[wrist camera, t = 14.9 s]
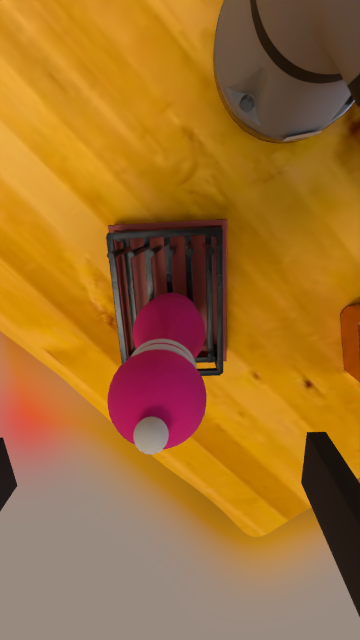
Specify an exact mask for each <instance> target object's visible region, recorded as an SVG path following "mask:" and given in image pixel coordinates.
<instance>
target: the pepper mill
mask: <svg viewBox="0 0 360 640" xmlns="http://www.w3.org/2000/svg"><path fill="white" fill-rule="evenodd" d="M204 340H205V325H204V321H203V318H202V316H201V314H200V313H199V311H198V310H197V309H196V307H195V305H194V304H193V302H192V301H191V300H189V299H188V298H187V297H185V296H184V295H181V294H178V293H164V294H161V295H159V296H157V297H155V298H154V299H153V300H152V301H150V302H149V303H147V304H146V305H145V306H144V307H143V308H142V309H141V310H140V311H139V313H138V315H137V317H136V319H135V322H134V326H133V341H134V345H135V348H136V350H135V351H134V353H133V354H132V356H131V357H130V358H129V359H128V360H127V361H126V362H125V363H123V364H122V365H121V366H120V367H119V369H118V370H117V372H116V373H115V375H114V377H113V379H112V382H111V384H110V388H109V392H108V410H109V415H110V418H111V420H112V423H113V424H114V426H115V427H116V429H117V430H118V432H119V433H120V434H121V435H122V436H123V437H124V438H125V439H127V440H128V441H129V442H131V443H133V444H135V445H136V447H137V448H138V449H139V450H140V451H141V452H143V453H145V454H155V453H158V452H160V451H161V450H162V449H167V448H171V447H174V446H177V445H179V444H181V443H182V442H184V441H185V440H186V439H188V438H189V437H190V436H191V435H192V434H193V433H194V432H195V431H196V430H197V428H198V427H199V425H200V423H201V421H202V418H203V416H204V414H205V407H206V389H205V385H204V381H203V379H202V377H201V374H200V373H199V372H198V370H197V368H196V363H195V360H194V359H195V358H196V357H197V356H198V354H199V353H200V351H201V349H202V347H203V344H204Z"/></svg>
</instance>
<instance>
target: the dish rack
mask: <svg viewBox="0 0 360 640" xmlns="http://www.w3.org/2000/svg"><path fill="white" fill-rule="evenodd" d="M108 228H109V233H108V234H107V237H106V239H107V247H108V254H107V257H108V258H109V263H110V271H111V279H112V287H113V295H114V304H115V312H116V320H117V328H118V336H119V344H120V352H121V360H122V364H123V363H125V362H126V361H127V360H128V359H129V358H130V357H131V356H132V354H133V353H134V351H135V350H136V348H135V345H134V341H133V326H134V322H135V319H136V317H137V315H138V313H139V311H140V310H141V309H142V308H143V307H144V306H145V305H146V304H147V303H149V302H150V301H152V300H153V299H154V298H155V297H157V296H159V295H161V294H164V293H178V294H181V295H184V296H185V297H187V298H188V299H189V300H191V301H192V302H193V304H194V305H195V307H196V309H197V310H198V311H199V313H200V314H201V316H202V318H203V321H204V325H205V340H204V344H203V347H202V349H201V351H200V353H199V354H198V356H197V357H196V358H195V359H194V360H195V363H200V362H208V363H211V362H215V365H216V368H207V369H197V370H198V372H199V373H200V374H201V376H211V375H220V374H222V373H223V361H226V333H227V219H222V220H202V221H183V222H163V223H144V224H124V225H108Z"/></svg>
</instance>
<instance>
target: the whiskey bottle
mask: <svg viewBox="0 0 360 640" xmlns="http://www.w3.org/2000/svg"><path fill="white" fill-rule="evenodd" d="M340 317H341V330H342V344H343V357H344V370H345V371H346V372H347V373H349V374H350V375H351V376H353V377H354V378H355V379H356V380H358V381H359V382H360V303H359V304H355V305H350V306H347V307H346V308H345V309H344V310H343V312H342V313H341V314H340Z"/></svg>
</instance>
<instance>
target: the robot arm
mask: <svg viewBox="0 0 360 640" xmlns="http://www.w3.org/2000/svg"><path fill="white" fill-rule="evenodd" d="M213 64H214V75H215V81H216V85H217V89H218V92H219V95H220V98H221V100H222V102H223V104H224V106H225V108H226V110H227V111H228V113H229V114H230V116H231V117H232V118H233V120H234V121H235V122H236V123H237V124H238V125H239V126H240V127H241V128H242V129H244V130H245V131H246V132H248V133H249V134H251V135H252V136H254V137H257V138H259V139H262V140H264V141H268V142H274V143H290V142H296V141H300V140H303V139H306V138H309V137H311V136H314V135H318V134H319V133H321V132H322V130H323V131H324V129H325V128H326V127H328V126H329V125H331V124H332V123H333V122H335V121H336V120H337V119H338V118H340V117H341V116H342V115H343V114H344V113H345V112H346V111H347V110H348V109H349V108H350V107H351V105H352V104H353V103H354V102H355V103H356V105H357V106H358V107H357V108H358V110H359V112H360V0H224V2H223V5H222V8H221V11H220V15H219V18H218V23H217V28H216V34H215V42H214V52H213ZM301 483H302V486H303V488H304V490H305V492H306V495H307V497H308V499H309V502H310V504H311V506H312V508H313V511H314V513H315V515H316V518H317V520H318V522H319V525H320V527H321V529H322V531H323V534H324V536H325V538H326V541H327V543H328V545H329V548H330V550H331V552H332V554H333V557H334V559H335V561H336V564H337V566H338V568H339V570H340V573H341V575H342V577H343V580H344V582H345V584H346V586H347V589H348V591H349V593H350V596H351V598H352V600H353V603H354V605H355V607H356V609H357V612H358V614H359V616H360V483H359V482H358V480H357V478H356V477H355V475H354V474H353V472H352V471H351V469H350V468H349V466H348V465H347V463H346V462H345V460H344V459H343V457H342V456H341V454H340V453H339V451H338V450H337V448H336V447H335V445H334V444H333V442H332V441H331V439H330V438H329V436H328V435H327V433H326V432H307V437H306V446H305V455H304V463H303V472H302V481H301ZM16 487H17V483H16V480H15V476H14V473H13V470H12V466H11V463H10V460H9V456H8V453H7V450H6V446H5V443H4V440H3V438H0V511H1V509H2V508H3V506H4V505H5V503H6V502H7V500H8V499H9V497H10V496H11V494H12V493H13V491H14V490H15V488H16Z"/></svg>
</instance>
